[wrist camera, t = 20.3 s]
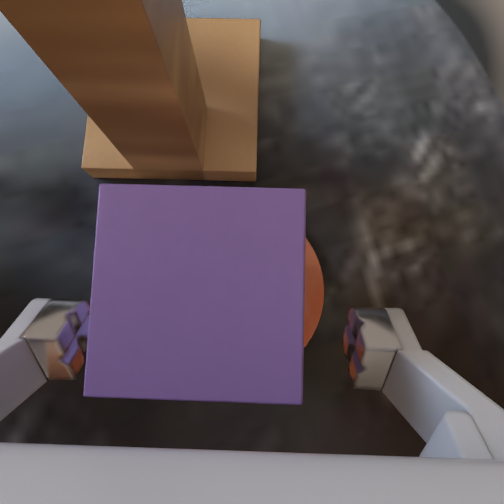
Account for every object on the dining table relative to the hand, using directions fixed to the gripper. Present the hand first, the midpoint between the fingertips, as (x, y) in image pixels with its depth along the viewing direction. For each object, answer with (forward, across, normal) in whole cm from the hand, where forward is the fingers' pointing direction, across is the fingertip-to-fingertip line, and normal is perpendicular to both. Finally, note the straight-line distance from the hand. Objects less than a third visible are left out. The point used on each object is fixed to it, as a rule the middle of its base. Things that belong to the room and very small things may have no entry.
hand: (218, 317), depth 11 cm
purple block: (+1, 0, -3) cm, 3 cm away
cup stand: (+12, -4, 0) cm, 13 cm away
